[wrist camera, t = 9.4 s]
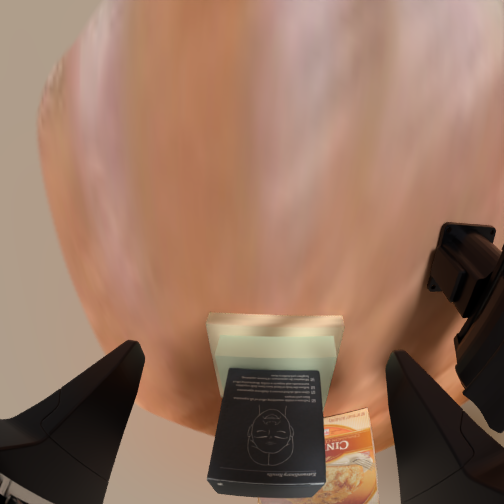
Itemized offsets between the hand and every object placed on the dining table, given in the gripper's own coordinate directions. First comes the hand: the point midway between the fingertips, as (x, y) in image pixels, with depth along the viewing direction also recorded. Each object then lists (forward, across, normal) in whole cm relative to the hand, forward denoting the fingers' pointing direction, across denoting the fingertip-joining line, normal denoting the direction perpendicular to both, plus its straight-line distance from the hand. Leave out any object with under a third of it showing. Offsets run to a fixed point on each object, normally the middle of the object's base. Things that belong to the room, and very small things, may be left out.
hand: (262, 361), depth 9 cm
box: (+9, 0, +14) cm, 17 cm away
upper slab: (+12, 0, +15) cm, 19 cm away
